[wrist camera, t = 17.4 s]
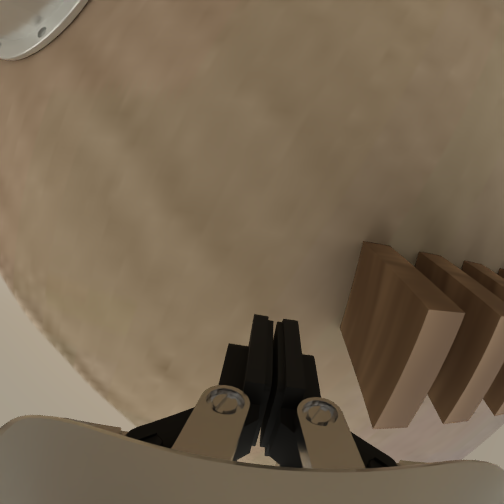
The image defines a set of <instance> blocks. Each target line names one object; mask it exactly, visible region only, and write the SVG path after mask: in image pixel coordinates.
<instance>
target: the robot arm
mask: <svg viewBox="0 0 504 504" xmlns="http://www.w3.org/2000/svg"><path fill="white" fill-rule="evenodd" d="M87 2H88V0H0V59H4V60H19V59H23V58H26V57H28V56H30V55H32V54H34V53H36V52H37V51H39V50H40V49H42V48H43V47H45V46H46V45H47V44H49V43H50V42H51V41H52V40H53V39H54V38H56V37H57V36H58V35H59V34H60V33H61V32H62V31H63V30H64V29H65V28H66V27H67V26H68V25H69V24H70V23H71V22H72V21H73V20H74V18H75V17H76V16H77V15H78V14H79V12H80V11H81V10H82V9H83V7H84V6H85V5H86V3H87ZM260 428H261V435H260V447H265V456H270V457H271V458H273V459H274V460H275V461H276V466H269V465H260V464H251V463H244V462H237V460H238V459H240V458H241V457H243V456H245V455H247V454H249V453H250V450H251V446H255V445H256V442H257V438H258V435H259V431H260ZM0 504H504V470H503V469H502V468H501V467H499V466H498V465H495V464H492V463H489V462H484V461H477V460H453V461H443V462H434V463H424V462H412V461H402V460H400V461H399V463H396V462H395V461H394V460H393V459H392V458H391V457H389V456H388V455H386V454H385V453H383V452H381V451H380V450H378V449H377V448H375V447H373V446H372V445H370V444H369V443H367V442H366V441H364V440H363V439H361V438H359V437H358V436H356V435H355V434H353V433H352V432H350V429H349V427H348V425H347V422H346V420H345V417H344V415H343V413H342V411H341V409H340V408H339V406H337V405H336V404H335V403H334V402H332V401H330V400H328V399H325V398H321V395H320V389H319V383H318V377H317V371H316V365H315V359H314V356H312V355H303V354H302V351H301V343H300V334H299V326H298V321H295V320H288V319H283V321H282V322H277V325H276V329H275V334H274V338H273V321H270V320H268V316H262V315H256V314H254V318H253V324H252V330H251V335H250V341H249V346H242V345H236V344H230V343H229V345H228V349H227V353H226V357H225V361H224V365H223V369H222V373H221V377H220V381H219V385H217V386H213V387H210V388H208V389H206V390H205V391H204V392H203V394H202V395H201V397H200V399H199V401H198V402H197V404H196V406H195V407H194V408H191V409H189V410H186V411H183V412H180V413H178V414H175V415H172V416H169V417H166V418H163V419H161V420H158V421H155V422H152V423H149V424H145V425H142V426H139V427H136V428H134V429H132V430H130V431H129V432H125V431H121V428H120V427H113V426H106V425H101V424H94V423H89V422H84V421H78V420H74V419H69V418H59V417H53V416H43V415H25V416H20V417H17V418H14V419H12V420H10V421H9V422H7V423H6V424H4V425H3V426H2V427H1V428H0Z"/></svg>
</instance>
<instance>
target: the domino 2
mask: <svg viewBox="0 0 504 504" xmlns="http://www.w3.org/2000/svg"><path fill="white" fill-rule="evenodd" d="M415 268H416V269H418V270H419V271H420V272H421V273H422V274H423V275H424V276H426V277H427V278H428V279H429V280H430V281H431V282H432V283H433V284H435V285H436V286H437V287H438V288H439V289H440V290H441V291H442V292H443V293H444V294H446V295H447V296H448V297H449V298H450V299H451V300H452V301H453V302H454V303H455V304H456V305H457V306H458V307H459V308H460V309H462V310H463V311H464V312H465V315H464V318H463V320H462V323H461V325H460V328H459V330H458V332H457V335H456V337H455V339H454V342H453V344H452V346H451V348H450V350H449V352H448V355H447V357H446V359H445V361H444V363H443V365H442V367H441V369H440V371H439V373H438V375H437V377H436V379H435V381H434V382H433V384H432V386H431V388H430V390H429V392H428V393H427V394H428V396H429V398H430V400H431V402H432V404H433V405H434V407H435V409H436V411H437V413H438V415H439V417H440V419H441V421H442V423H443V424H448V423H456V422H463V421H468V420H469V419H470V418H471V416H472V415H473V413H474V412H475V410H476V409H477V407H478V405H479V404H480V402H481V401H482V399H483V398H484V396H485V394H486V393H487V391H488V389H489V388H490V386H491V384H492V382H493V381H494V379H495V377H496V375H497V374H498V372H499V370H500V368H501V366H502V364H503V362H504V301H502V300H501V299H500V298H498V297H497V296H496V295H494V294H493V293H492V292H491V291H489V290H488V289H487V288H485V287H484V286H483V285H481V284H480V283H478V282H477V281H476V280H474V279H473V278H472V277H470V276H469V275H467V274H466V273H465V272H463V271H462V270H460V269H459V268H458V267H456V266H455V265H453V264H452V263H450V262H449V261H448V260H446V259H445V258H443V257H442V256H439V255H434V254H429V253H424V252H419V253H418V257H417V261H416V264H415Z"/></svg>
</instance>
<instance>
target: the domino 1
mask: <svg viewBox="0 0 504 504" xmlns="http://www.w3.org/2000/svg"><path fill="white" fill-rule="evenodd" d="M464 315H465V312H464V311H463V310H462V309H460V308H459V307H458V306H457V305H456V304H455V303H454V302H453V301H452V300H451V299H450V298H449V297H448V296H447V295H446V294H444V293H443V292H442V291H441V290H440V289H439V288H438V287H437V286H436V285H435V284H433V283H432V282H431V281H430V280H429V279H428V278H427V277H426V276H424V275H423V274H422V273H421V272H420V271H419V270H418V269H416V268H415V267H414V266H413V265H412V264H411V263H409V262H408V261H407V260H406V259H405V258H404V257H402V256H401V255H400V254H399V253H398V252H396V251H395V250H394V249H393V248H392V247H390V246H387V245H382V244H376V243H371V242H365V241H363V245H362V249H361V253H360V257H359V261H358V265H357V269H356V273H355V277H354V281H353V285H352V288H351V292H350V296H349V299H348V303H347V306H346V310H345V313H344V317H343V320H342V323H341V327H340V329H341V332H342V335H343V338H344V341H345V344H346V347H347V350H348V352H349V355H350V358H351V361H352V364H353V367H354V370H355V373H356V376H357V379H358V382H359V386H360V389H361V392H362V395H363V398H364V401H365V404H366V408H367V411H368V414H369V417H370V421H371V424H372V427H373V429H386V428H406V427H408V425H409V424H410V422H411V421H412V419H413V417H414V416H415V414H416V412H417V411H418V409H419V407H420V406H421V404H422V402H423V401H424V399H425V397H426V395H427V393H428V392H429V390H430V388H431V386H432V384H433V382H434V381H435V379H436V377H437V375H438V373H439V371H440V369H441V367H442V365H443V363H444V361H445V359H446V357H447V355H448V352H449V350H450V348H451V346H452V344H453V342H454V339H455V337H456V335H457V332H458V330H459V328H460V325H461V323H462V320H463V318H464Z"/></svg>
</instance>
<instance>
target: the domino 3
mask: <svg viewBox="0 0 504 504" xmlns="http://www.w3.org/2000/svg"><path fill="white" fill-rule="evenodd" d="M461 270H462V271H463V272H465V273H466V274H467V275H469V276H470V277H472V278H473V279H474V280H476V281H477V282H478V283H480V284H481V285H483V286H484V287H485V288H487V289H488V290H489V291H491V292H492V293H493V294H494V295H496V296H497V297H498V298H500V299H501V300H502V301H504V278H502V277H501V276H499V275H498V274H496V273H494V272H493V271H491V270H490V269H488V268H487V267H485V266H483V265H482V264H478V263H474V262H469V261H464V263H463V266H462V269H461ZM483 399H484V401H485V402H486V404H487V405H488V407H489V408H490V410H491V411H492V413H493V414H494V416H497V415H501V414H504V362H503V364H502V366H501V368H500V370H499V372H498V374H497V375H496V377H495V379H494V381H493V382H492V384H491V386H490V388H489V389H488V391H487V393H486V394H485V396H484V398H483Z"/></svg>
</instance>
